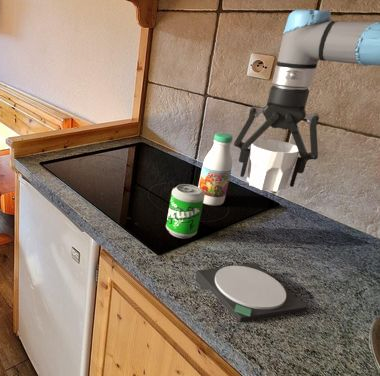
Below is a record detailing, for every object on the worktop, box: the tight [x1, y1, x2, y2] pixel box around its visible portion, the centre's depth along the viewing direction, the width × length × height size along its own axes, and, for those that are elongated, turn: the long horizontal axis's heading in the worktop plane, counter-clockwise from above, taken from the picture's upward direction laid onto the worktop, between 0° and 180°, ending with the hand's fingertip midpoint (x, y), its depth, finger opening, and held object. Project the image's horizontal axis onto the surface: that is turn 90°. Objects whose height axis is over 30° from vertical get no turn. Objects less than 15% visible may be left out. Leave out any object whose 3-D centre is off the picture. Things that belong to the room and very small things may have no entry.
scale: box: [195, 262, 308, 323], centre depth 79 cm, size 14×14×3 cm
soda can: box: [165, 183, 205, 239], centre depth 99 cm, size 8×8×12 cm
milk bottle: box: [197, 132, 233, 206], centre depth 115 cm, size 8×8×20 cm
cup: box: [246, 138, 300, 193], centre depth 96 cm, size 10×10×10 cm
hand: (266, 179), depth 98 cm, fingers closed on cup, 10 cm apart
